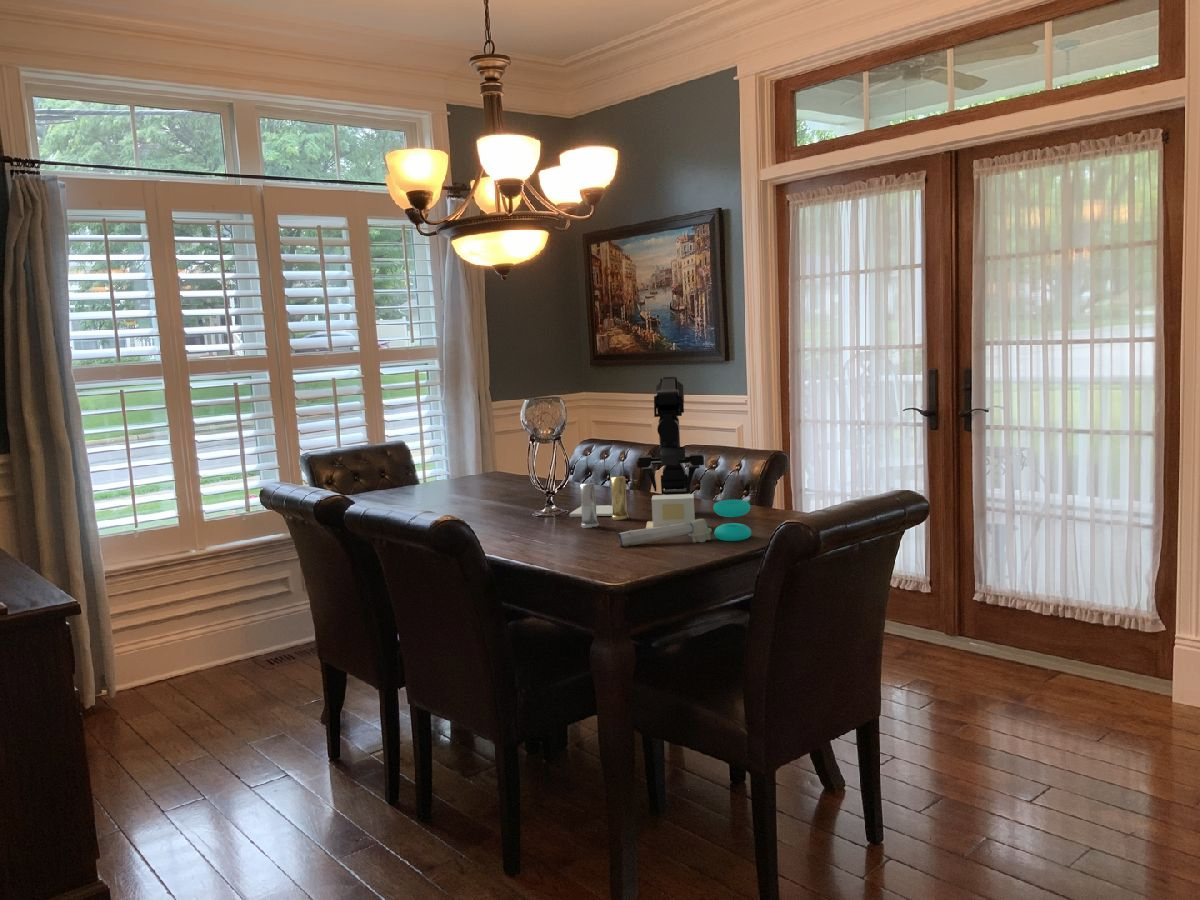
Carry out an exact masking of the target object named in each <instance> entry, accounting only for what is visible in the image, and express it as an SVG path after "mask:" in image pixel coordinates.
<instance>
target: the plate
mask: <svg viewBox="0 0 1200 900" xmlns="http://www.w3.org/2000/svg"><path fill="white" fill-rule="evenodd" d="M596 514H597V516H612V515H613V509H612V504H611V505H607V504H606V505H605V504H604V505H600V504H599V505H597V504H596ZM568 515H569V518H573V517H574V518H577V517H578V518H582V510H581V506H579V507H577V508H575V510H573V511H571V512H570V513H569V514H568Z"/></svg>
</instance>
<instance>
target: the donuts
mask: <svg viewBox="0 0 1200 900" xmlns="http://www.w3.org/2000/svg"><path fill="white" fill-rule="evenodd" d="M712 508H713V511H714V513H715V514H717V515H718V516H720V517H721V516H722V517H725V518H726V517H730V518H735V517H742V516H744V515H746V514H748V513H749V512H750V511H751V503H750V502H749V501H747V500H743V499H724V500H723V499H722V500H717V502H715V503H714V504H713V507H712ZM751 535H752V530H751V528H750V527H749V526H748V525H746V524H743V523H736V522H732V523H723V524H721V525H718V526H717V527H716V528H715V529H714V537H715V538H717V539H718V540H721V541H724V542H725V541H726V542H739V541H745V540H746V539H749V538H750V537H751Z"/></svg>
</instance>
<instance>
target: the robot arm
mask: <svg viewBox="0 0 1200 900" xmlns="http://www.w3.org/2000/svg"><path fill="white" fill-rule="evenodd" d="M684 402H685V391H684V384H683V383H681V382H679V381H678V377H677V376H674V375H673V376H662V377H660V382H659V383H658V384H657V385H656V386H655V395H654V396H653V410H654V411H653V415H654V416H653V417H654V418H659V419H658V425H657V429H656V430H657V434H658V436H659V438H658V440H659V452H658V453H659V457H652V454H648V455H646V454H645V455H644V454H643V455H639V456H638V457H637V458H636V468H639V469H641V471H644V472H646V473H647V475H648V478H649V479H650V481H651V484H652V487H653V489H654V492H657V482H656V475H655V469H654V465H661V466H663V468H662V474H661V475H660V486H661V487H660V488H661V495H679V494H691V484H692V481H693V477H694V474H695V472H696V469H700V467H701V466H705V455H704V454H703V453H701V452H699V453H697V452H696V453H695V452H694V453H689V456H686V447H685V446H681V434H680V419H679V417H681V416H682V415H683V413H684V414H685V408H684V406H685V403H684ZM683 464H688V473H686V467H685V466H684V465H683Z"/></svg>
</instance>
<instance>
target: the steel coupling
mask: <svg viewBox="0 0 1200 900" xmlns="http://www.w3.org/2000/svg"><path fill="white" fill-rule="evenodd" d="M579 489H580V504H581V505H580V507H581V510H582V517H581V521H582V522H580V528H581V527H582V529H593V528H592V527H596V528H598V527H599V522H598V520H597V519H598V517H597V514H596V505H597V500H596V498H597V497H596V483H595V482H582V483H579ZM597 526H598V527H597Z"/></svg>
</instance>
